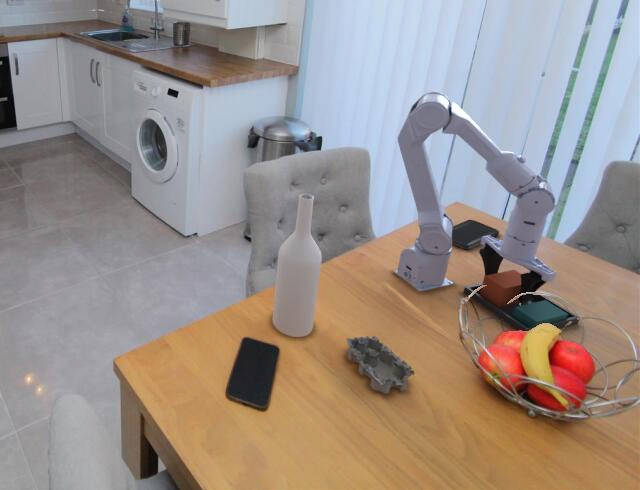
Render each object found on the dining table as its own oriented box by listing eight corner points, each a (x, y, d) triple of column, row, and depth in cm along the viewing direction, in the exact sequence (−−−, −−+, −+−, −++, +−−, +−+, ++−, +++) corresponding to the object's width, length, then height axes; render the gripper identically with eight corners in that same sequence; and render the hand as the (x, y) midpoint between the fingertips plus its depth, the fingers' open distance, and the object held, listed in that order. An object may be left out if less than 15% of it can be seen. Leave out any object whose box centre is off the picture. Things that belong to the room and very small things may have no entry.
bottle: (288, 305, 106) (301, 183, 95) (320, 326, 100) (338, 197, 89) (264, 321, 102) (275, 194, 91) (296, 343, 95) (312, 211, 84)
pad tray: (525, 338, 95) (528, 330, 94) (462, 293, 108) (464, 286, 107) (577, 325, 97) (580, 317, 97) (510, 283, 110) (512, 276, 110)
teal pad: (533, 331, 96) (536, 321, 95) (511, 316, 100) (514, 307, 99) (564, 324, 97) (568, 314, 96) (542, 309, 101) (545, 300, 100)
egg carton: (413, 391, 84) (418, 373, 83) (373, 397, 83) (377, 379, 82) (377, 346, 94) (380, 329, 93) (341, 350, 93) (343, 334, 92)
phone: (501, 231, 128) (467, 246, 122) (500, 234, 129) (466, 250, 123) (470, 218, 135) (437, 232, 129) (469, 222, 135) (436, 236, 129)
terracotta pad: (498, 307, 102) (504, 288, 100) (479, 294, 106) (484, 275, 105) (528, 300, 104) (534, 281, 102) (508, 288, 108) (514, 269, 106)
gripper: (575, 251, 94) (555, 307, 99) (505, 215, 107) (490, 267, 112) (546, 256, 92) (527, 313, 97) (479, 220, 105) (465, 272, 110)
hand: (506, 289), depth 104 cm, fingers open, 7 cm apart
